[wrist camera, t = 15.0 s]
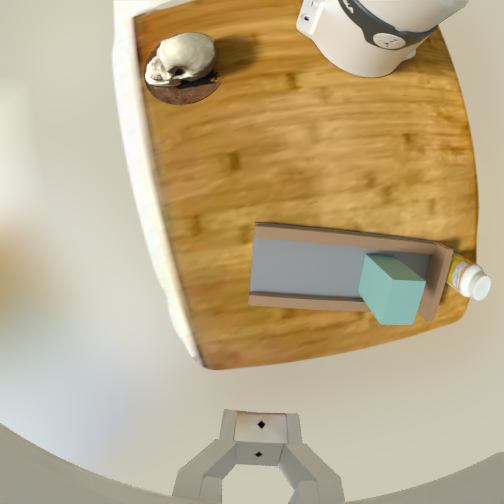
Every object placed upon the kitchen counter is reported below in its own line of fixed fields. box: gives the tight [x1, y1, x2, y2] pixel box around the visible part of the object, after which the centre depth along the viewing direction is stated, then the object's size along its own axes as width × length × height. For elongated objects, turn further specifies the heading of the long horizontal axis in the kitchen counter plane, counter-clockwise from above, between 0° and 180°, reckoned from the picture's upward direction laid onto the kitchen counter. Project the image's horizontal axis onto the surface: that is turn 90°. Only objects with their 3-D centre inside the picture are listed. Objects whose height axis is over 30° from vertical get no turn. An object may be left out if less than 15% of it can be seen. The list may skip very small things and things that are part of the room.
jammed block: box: [358, 254, 426, 325], centre depth 36 cm, size 6×5×10 cm
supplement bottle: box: [446, 253, 491, 300], centre depth 36 cm, size 5×5×10 cm
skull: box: [144, 32, 224, 105], centre depth 32 cm, size 12×10×10 cm
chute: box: [249, 222, 453, 321], centre depth 39 cm, size 12×30×4 cm, turn 86°
